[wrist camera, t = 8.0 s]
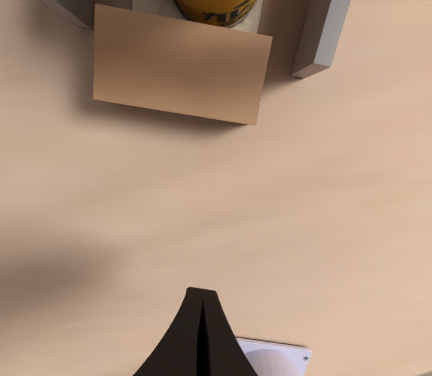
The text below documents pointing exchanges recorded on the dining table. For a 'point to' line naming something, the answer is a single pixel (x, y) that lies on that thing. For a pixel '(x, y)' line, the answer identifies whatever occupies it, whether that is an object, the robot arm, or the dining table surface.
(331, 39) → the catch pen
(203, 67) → the tan rectangular block
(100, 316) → the dining table surface
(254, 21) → the condiment
